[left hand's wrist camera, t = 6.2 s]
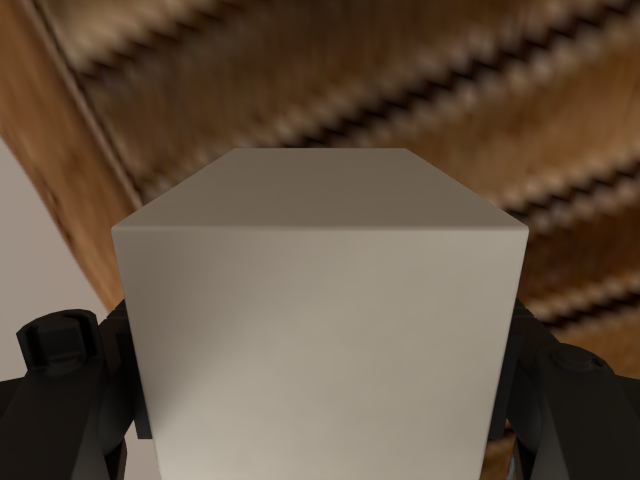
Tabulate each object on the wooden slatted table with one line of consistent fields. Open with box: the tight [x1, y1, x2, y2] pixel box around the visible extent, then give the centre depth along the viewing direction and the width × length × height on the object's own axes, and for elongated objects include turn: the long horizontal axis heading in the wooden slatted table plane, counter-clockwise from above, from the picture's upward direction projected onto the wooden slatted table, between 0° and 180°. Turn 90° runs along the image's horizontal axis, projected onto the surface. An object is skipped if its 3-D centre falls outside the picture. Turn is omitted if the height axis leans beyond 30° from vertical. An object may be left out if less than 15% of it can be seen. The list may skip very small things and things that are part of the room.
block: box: [111, 148, 529, 480], centre depth 12 cm, size 8×6×9 cm
